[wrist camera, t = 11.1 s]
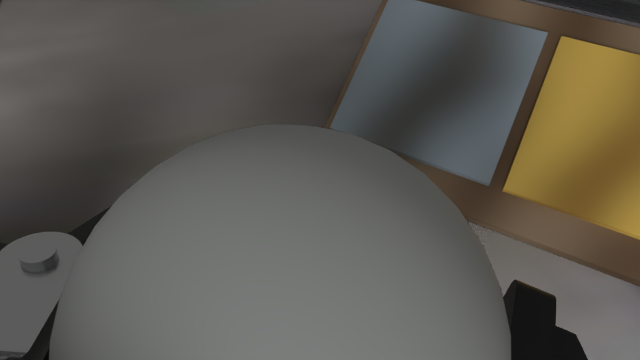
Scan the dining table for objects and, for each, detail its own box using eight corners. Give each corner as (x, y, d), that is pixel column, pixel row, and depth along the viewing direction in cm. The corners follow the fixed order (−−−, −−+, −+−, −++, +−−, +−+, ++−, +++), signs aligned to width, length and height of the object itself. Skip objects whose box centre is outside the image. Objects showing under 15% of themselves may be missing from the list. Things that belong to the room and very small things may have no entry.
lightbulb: (402, 190, 15) (372, -68, 5) (495, 378, 13) (809, 669, 3) (236, 266, 15) (-134, 188, 5) (302, 458, 14) (-74, 974, 3)
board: (315, 162, 23) (308, 153, 22) (396, -16, 25) (395, -34, 24) (689, 305, 18) (710, 305, 17) (758, 70, 20) (781, 53, 19)
